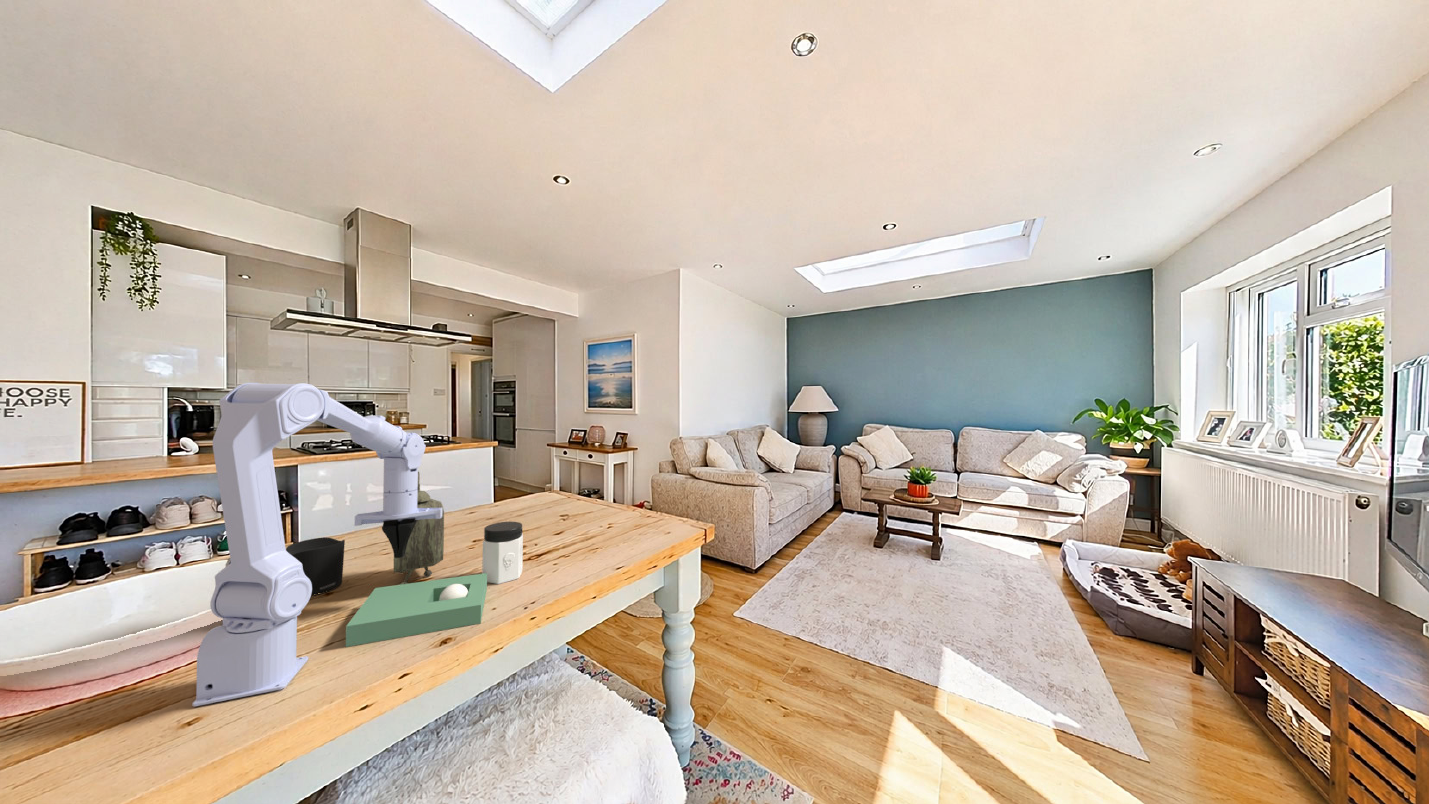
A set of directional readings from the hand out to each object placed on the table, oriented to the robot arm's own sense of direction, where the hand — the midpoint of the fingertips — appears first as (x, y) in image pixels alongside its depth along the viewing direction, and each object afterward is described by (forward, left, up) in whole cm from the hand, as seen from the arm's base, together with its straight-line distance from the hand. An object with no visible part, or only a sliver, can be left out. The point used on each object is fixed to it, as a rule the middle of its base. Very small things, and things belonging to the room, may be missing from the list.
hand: (399, 556), depth 88 cm
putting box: (+6, -8, -9) cm, 14 cm away
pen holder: (-18, +14, -10) cm, 25 cm away
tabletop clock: (+1, +12, -10) cm, 15 cm away
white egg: (+11, -9, -7) cm, 15 cm away
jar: (+19, +6, -10) cm, 22 cm away
